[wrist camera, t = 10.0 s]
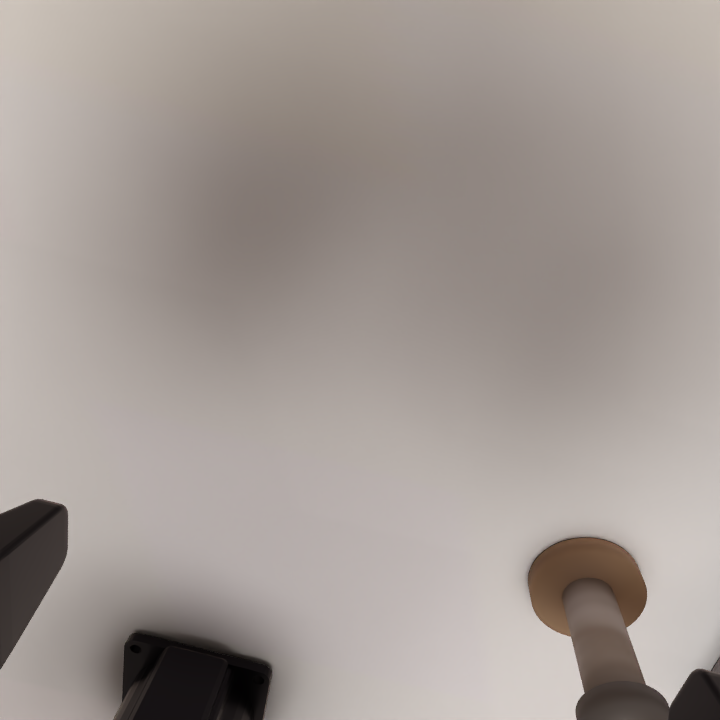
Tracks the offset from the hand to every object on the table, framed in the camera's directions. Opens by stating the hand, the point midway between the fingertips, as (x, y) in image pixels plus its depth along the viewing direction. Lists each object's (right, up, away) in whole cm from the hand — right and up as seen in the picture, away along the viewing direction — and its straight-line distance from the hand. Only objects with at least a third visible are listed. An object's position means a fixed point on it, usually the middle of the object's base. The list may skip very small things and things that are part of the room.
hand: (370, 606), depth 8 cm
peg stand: (+8, -5, +14) cm, 17 cm away
